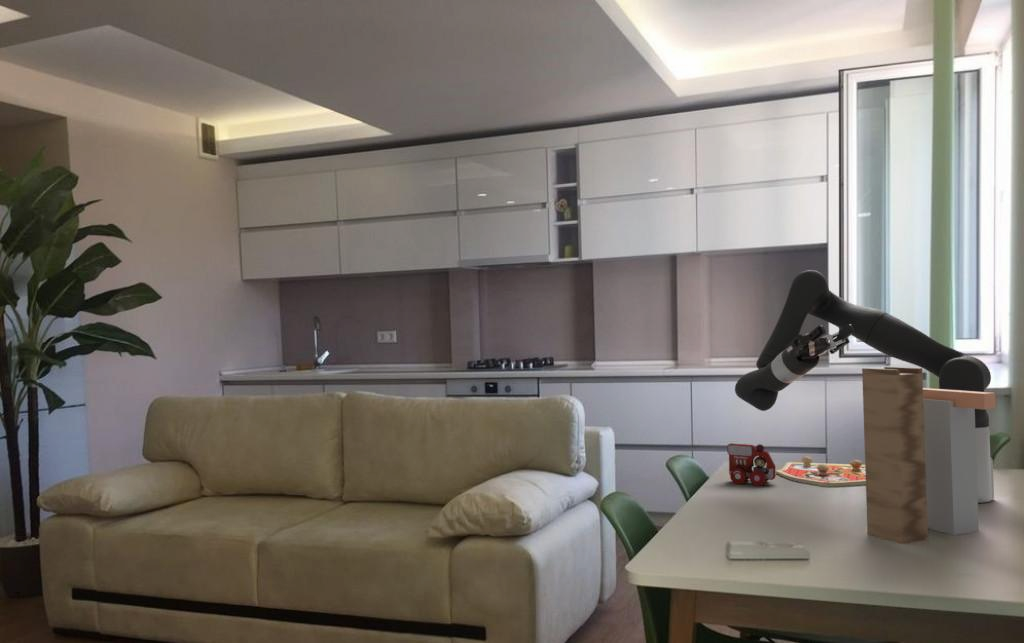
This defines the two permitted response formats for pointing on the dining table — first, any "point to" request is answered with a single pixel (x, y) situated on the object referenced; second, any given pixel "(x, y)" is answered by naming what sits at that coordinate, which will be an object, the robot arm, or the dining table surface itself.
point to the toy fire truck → (750, 464)
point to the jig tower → (895, 453)
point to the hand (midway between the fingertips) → (837, 328)
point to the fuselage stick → (962, 398)
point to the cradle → (950, 467)
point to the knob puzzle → (825, 473)
